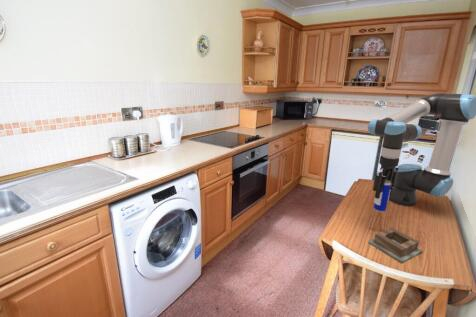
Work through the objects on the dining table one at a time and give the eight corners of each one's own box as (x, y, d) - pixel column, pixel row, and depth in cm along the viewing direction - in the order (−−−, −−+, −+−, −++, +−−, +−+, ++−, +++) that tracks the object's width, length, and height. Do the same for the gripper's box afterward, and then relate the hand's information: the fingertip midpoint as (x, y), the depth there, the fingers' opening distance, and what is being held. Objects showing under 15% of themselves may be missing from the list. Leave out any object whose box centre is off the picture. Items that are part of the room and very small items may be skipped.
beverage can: (381, 206, 123) (387, 178, 118) (388, 212, 118) (393, 183, 113) (371, 206, 123) (376, 179, 118) (377, 212, 118) (382, 183, 113)
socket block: (388, 234, 120) (390, 225, 119) (422, 252, 107) (425, 242, 106) (368, 242, 114) (370, 233, 112) (401, 263, 101) (404, 253, 99)
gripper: (394, 151, 119) (385, 195, 126) (368, 157, 111) (361, 203, 119) (410, 155, 113) (400, 201, 120) (385, 162, 105) (375, 210, 112)
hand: (380, 202), depth 119 cm, fingers closed on beverage can, 5 cm apart
